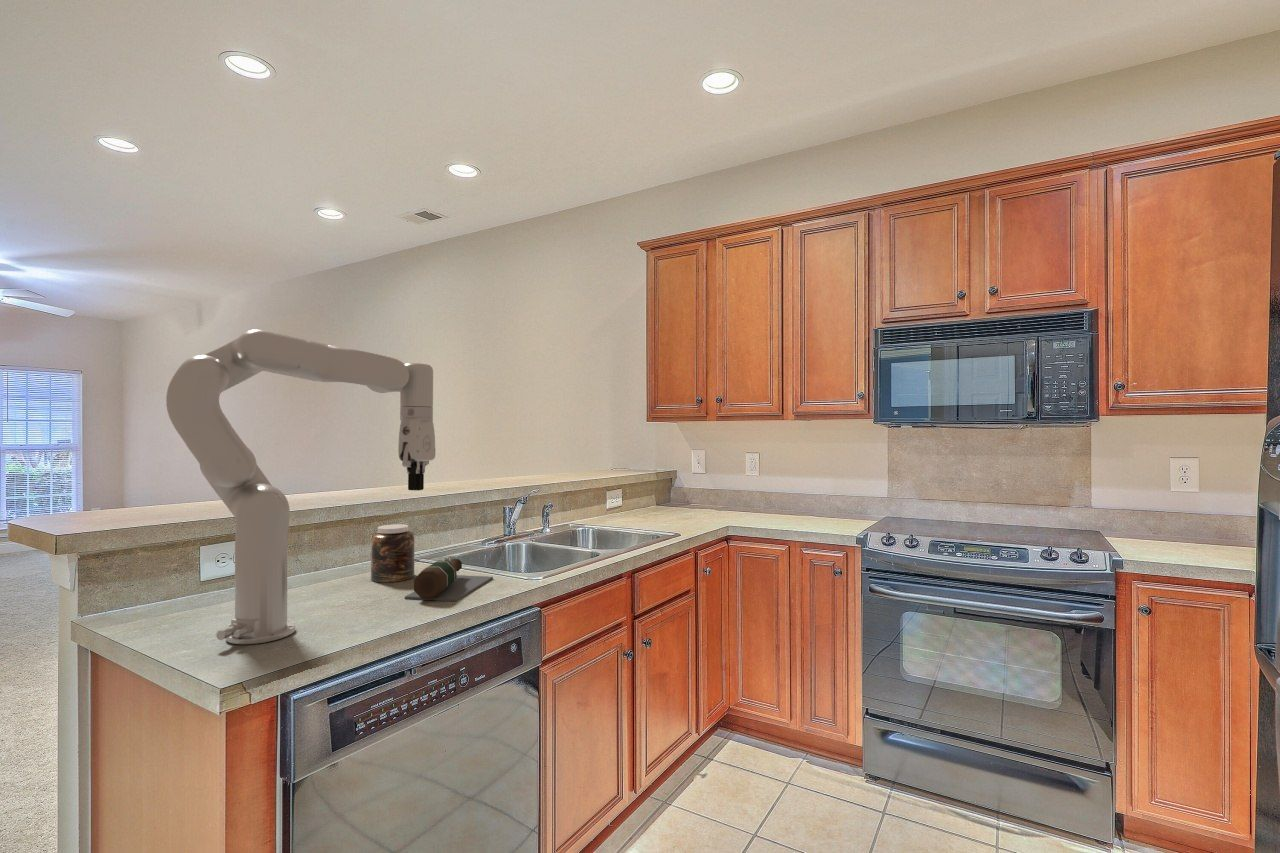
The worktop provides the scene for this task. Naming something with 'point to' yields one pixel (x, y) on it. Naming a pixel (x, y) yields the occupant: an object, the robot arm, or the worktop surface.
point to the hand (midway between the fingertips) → (415, 489)
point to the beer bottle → (436, 578)
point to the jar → (392, 554)
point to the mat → (457, 588)
